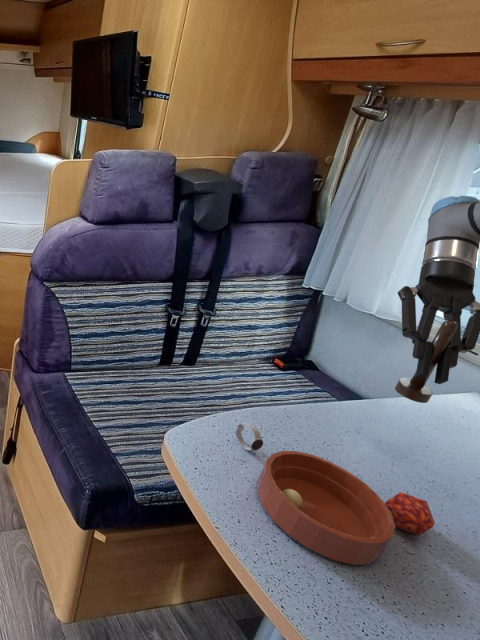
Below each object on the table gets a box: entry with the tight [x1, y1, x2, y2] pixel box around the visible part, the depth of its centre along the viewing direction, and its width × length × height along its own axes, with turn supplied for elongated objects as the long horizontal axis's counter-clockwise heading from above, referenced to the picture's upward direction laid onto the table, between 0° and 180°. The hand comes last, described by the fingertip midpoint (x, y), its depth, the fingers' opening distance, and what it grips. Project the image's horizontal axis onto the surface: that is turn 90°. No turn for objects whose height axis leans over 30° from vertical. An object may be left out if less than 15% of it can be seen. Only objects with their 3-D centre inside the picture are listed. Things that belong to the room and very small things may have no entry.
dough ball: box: [282, 489, 302, 508], centre depth 79 cm, size 3×3×3 cm
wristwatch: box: [234, 422, 264, 451], centre depth 92 cm, size 3×5×5 cm, turn 11°
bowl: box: [256, 450, 396, 566], centre depth 78 cm, size 18×18×6 cm
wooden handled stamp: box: [394, 320, 458, 404], centre depth 87 cm, size 5×5×16 cm
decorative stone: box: [384, 491, 436, 536], centre depth 77 cm, size 6×7×8 cm
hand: (431, 378), depth 84 cm, fingers closed on wooden handled stamp, 2 cm apart
